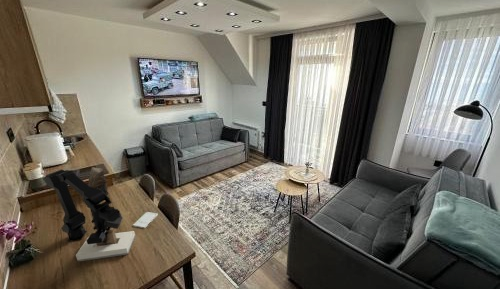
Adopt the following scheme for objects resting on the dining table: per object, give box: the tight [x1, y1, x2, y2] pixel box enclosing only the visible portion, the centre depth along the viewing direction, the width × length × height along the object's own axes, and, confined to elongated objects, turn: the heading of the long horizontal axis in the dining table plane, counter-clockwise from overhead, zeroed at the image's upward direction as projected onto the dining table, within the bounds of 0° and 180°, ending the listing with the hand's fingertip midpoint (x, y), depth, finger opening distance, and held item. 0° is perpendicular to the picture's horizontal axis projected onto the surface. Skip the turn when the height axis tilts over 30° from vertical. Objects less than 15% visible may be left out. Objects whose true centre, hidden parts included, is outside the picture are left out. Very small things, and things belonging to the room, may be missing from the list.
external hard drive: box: [132, 211, 158, 229], centre depth 127 cm, size 2×8×12 cm
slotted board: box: [75, 230, 136, 262], centre depth 106 cm, size 22×12×4 cm, turn 102°
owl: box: [87, 166, 109, 196], centre depth 150 cm, size 13×13×20 cm
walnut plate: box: [97, 228, 117, 246], centre depth 105 cm, size 8×2×9 cm, turn 102°
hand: (106, 240), depth 105 cm, fingers closed on walnut plate, 2 cm apart
